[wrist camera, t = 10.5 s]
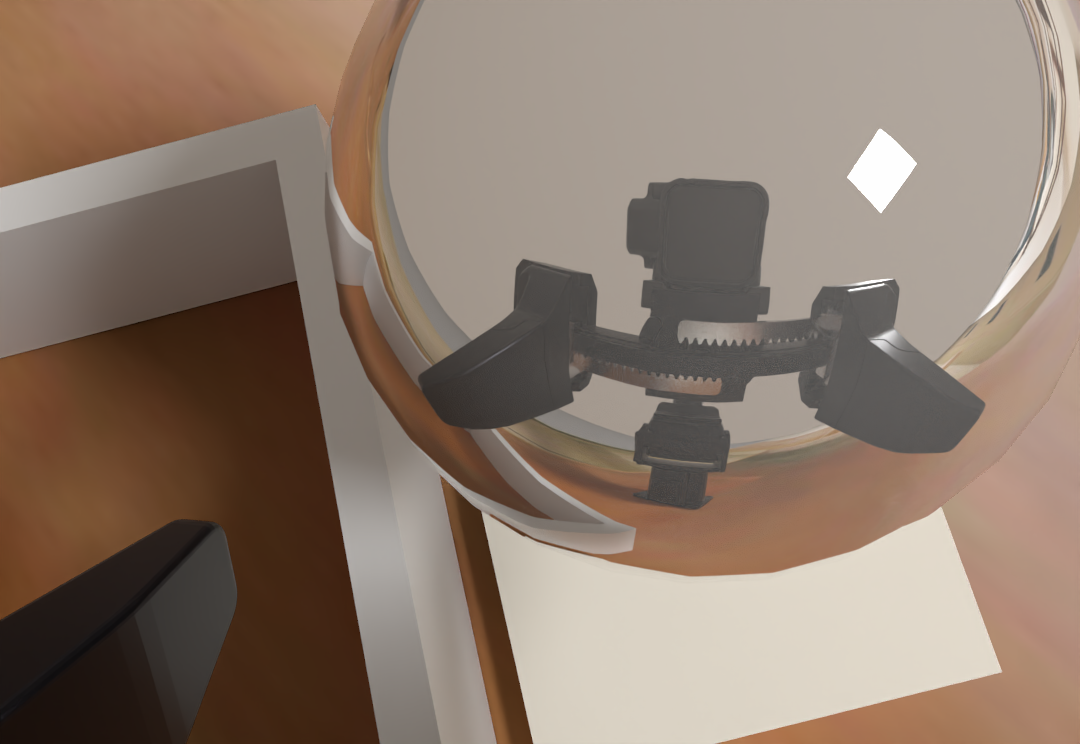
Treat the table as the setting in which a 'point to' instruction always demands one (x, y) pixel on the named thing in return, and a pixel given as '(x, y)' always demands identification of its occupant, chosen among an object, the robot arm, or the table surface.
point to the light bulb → (709, 261)
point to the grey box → (342, 386)
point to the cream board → (733, 640)
